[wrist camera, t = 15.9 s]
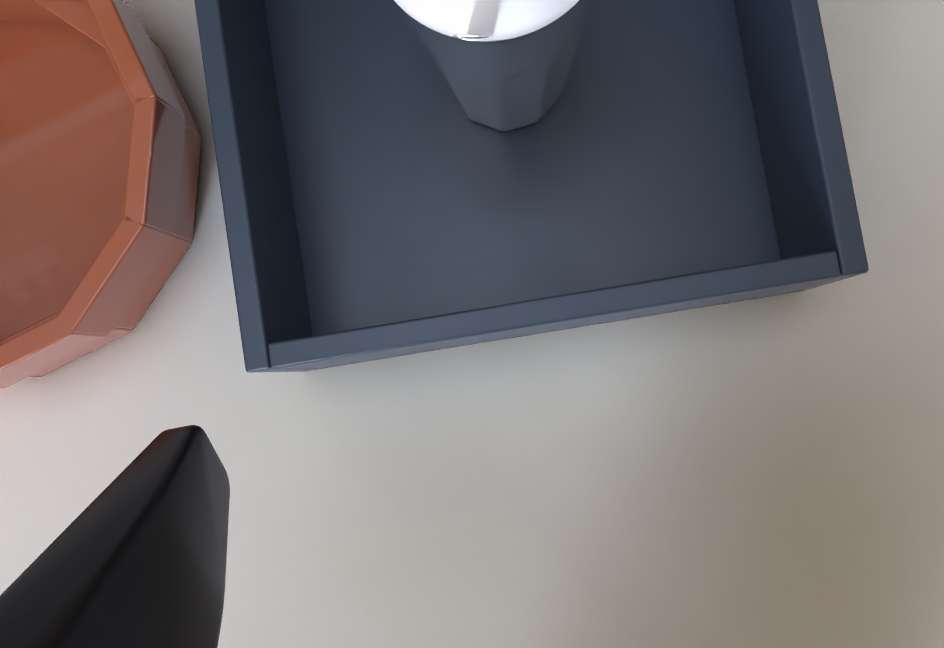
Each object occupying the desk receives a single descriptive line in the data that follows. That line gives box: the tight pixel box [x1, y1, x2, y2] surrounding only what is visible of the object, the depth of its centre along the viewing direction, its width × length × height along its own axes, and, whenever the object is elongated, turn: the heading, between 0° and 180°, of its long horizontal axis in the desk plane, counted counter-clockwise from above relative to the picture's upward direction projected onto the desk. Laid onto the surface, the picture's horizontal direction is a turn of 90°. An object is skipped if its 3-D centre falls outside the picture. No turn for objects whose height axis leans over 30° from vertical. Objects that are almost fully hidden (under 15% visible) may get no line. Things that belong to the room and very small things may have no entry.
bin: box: [195, 0, 868, 372], centre depth 21 cm, size 14×14×4 cm
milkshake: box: [393, 0, 591, 132], centre depth 18 cm, size 5×5×10 cm
